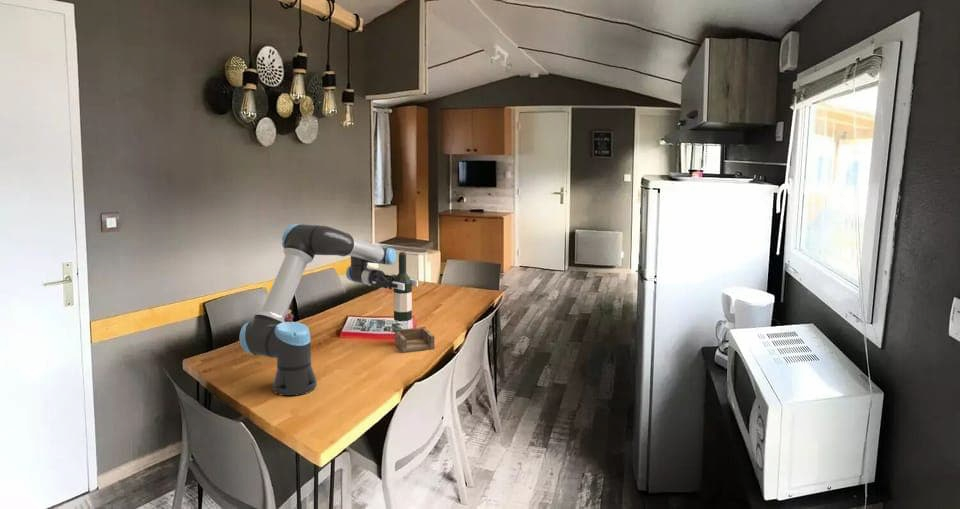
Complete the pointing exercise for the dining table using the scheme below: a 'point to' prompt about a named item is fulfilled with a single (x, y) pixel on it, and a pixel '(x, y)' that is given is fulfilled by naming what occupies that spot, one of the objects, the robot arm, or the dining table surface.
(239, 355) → the dining table surface
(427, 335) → the walnut rest
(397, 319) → the wine bottle
